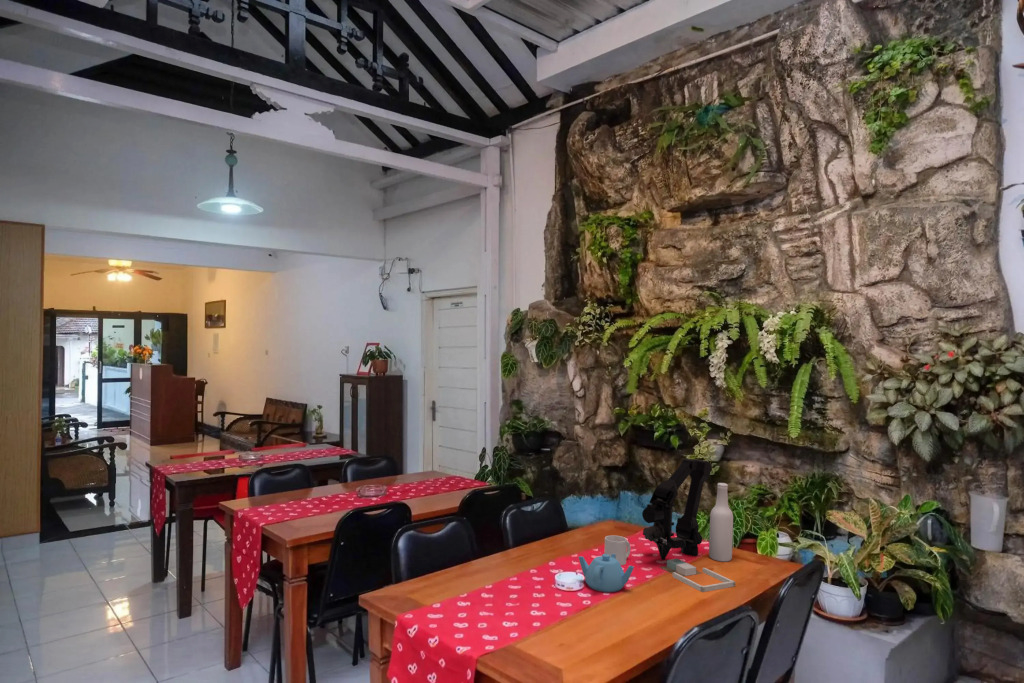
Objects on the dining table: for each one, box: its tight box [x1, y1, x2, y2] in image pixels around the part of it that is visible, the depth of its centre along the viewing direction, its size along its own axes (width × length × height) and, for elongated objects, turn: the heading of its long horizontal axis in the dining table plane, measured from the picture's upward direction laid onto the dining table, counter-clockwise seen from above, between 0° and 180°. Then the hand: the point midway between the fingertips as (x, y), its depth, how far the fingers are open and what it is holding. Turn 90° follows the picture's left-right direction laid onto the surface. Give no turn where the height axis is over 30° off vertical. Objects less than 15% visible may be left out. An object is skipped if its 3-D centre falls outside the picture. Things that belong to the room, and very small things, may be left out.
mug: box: [603, 535, 631, 566], centre depth 239 cm, size 12×8×10 cm
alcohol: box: [708, 482, 734, 563], centre depth 251 cm, size 9×9×30 cm
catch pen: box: [672, 567, 736, 593], centre depth 220 cm, size 15×15×3 cm
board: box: [659, 565, 703, 577], centre depth 231 cm, size 11×11×2 cm
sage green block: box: [666, 558, 687, 571], centre depth 233 cm, size 5×5×2 cm
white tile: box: [676, 562, 697, 577], centre depth 228 cm, size 5×5×2 cm
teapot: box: [578, 553, 635, 593], centre depth 217 cm, size 15×15×11 cm
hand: (662, 559), depth 240 cm, fingers closed
